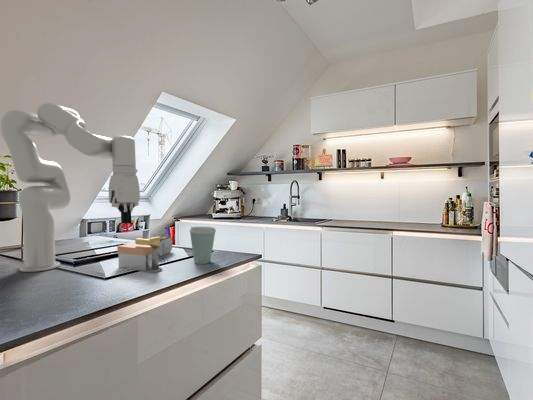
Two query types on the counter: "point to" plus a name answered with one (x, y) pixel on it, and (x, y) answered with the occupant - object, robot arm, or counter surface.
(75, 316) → the counter surface
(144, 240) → the key
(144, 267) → the housing
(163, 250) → the tin
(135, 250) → the cover
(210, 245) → the disposable coffee cup
